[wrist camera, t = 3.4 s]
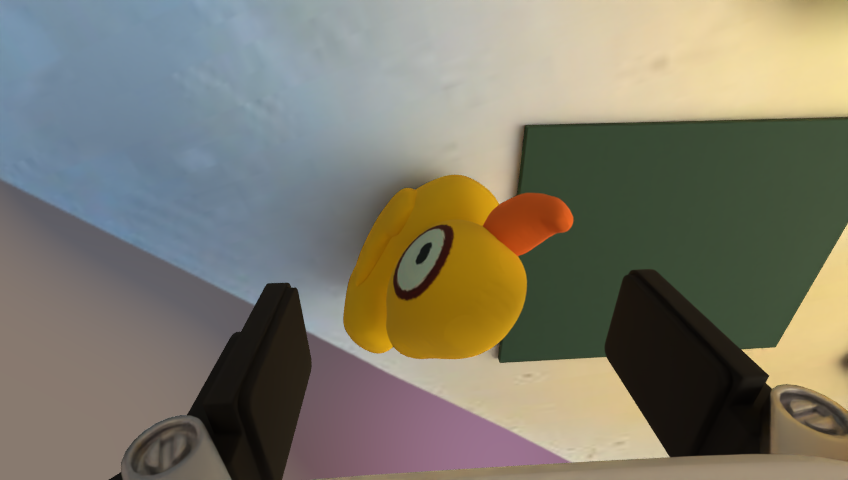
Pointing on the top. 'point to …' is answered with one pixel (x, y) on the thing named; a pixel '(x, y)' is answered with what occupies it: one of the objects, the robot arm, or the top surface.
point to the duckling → (446, 268)
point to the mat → (679, 224)
